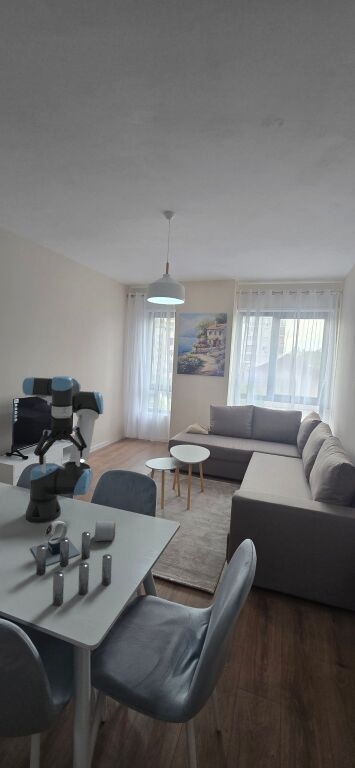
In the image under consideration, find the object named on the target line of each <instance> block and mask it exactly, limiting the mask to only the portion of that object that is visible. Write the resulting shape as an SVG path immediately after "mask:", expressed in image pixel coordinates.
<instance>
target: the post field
mask: <svg viewBox="0 0 355 768" xmlns="http://www.w3.org/2000/svg"><path fill="white" fill-rule="evenodd" d="M69 540H70V539H69V537H68V538H64V539H61V540H60V562H59V567H61V568H66V567H68V566H69V564H70V563H69V562H70V558H69ZM39 545H40V544H39ZM80 556H81V559H82V560H84V561H85V560H88V559H90V556H91V532H90V531H84V532H82V534H81V553H80ZM35 558H36V559H35V560H36V562H35V565H36V566H35V567H36V569H35V570H36V571H35V573H36V576H40V577H41V576H44V575H45V574H46V571H47V569H46V567H47V566H46V546H45V545H40V546H38V547H37V556H36V557H35ZM112 560H113V556H112V554H110V553H108V554H104V555H103V556H102V563H101V564H102V565H101V566H102V567H101V568H102V569H101V585H102V586H105V587H106V586H109V585H111V584H112V563H113V562H112ZM78 565H79V566H78V590H77V591H78V592H77V593H78V595H79V596H83V597H84V596H87V595H88V593H89V580H90V578H89V576H90V575H89V573H90V572H89V571H90V564H89V563H88V562H86V561H85V562H82V563H80V564H78ZM64 579H65V573H64V571H56V572H54V573H53V575H52V605H53V607H60V606H62V605H63V604H64V583H65V580H64Z"/></svg>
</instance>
